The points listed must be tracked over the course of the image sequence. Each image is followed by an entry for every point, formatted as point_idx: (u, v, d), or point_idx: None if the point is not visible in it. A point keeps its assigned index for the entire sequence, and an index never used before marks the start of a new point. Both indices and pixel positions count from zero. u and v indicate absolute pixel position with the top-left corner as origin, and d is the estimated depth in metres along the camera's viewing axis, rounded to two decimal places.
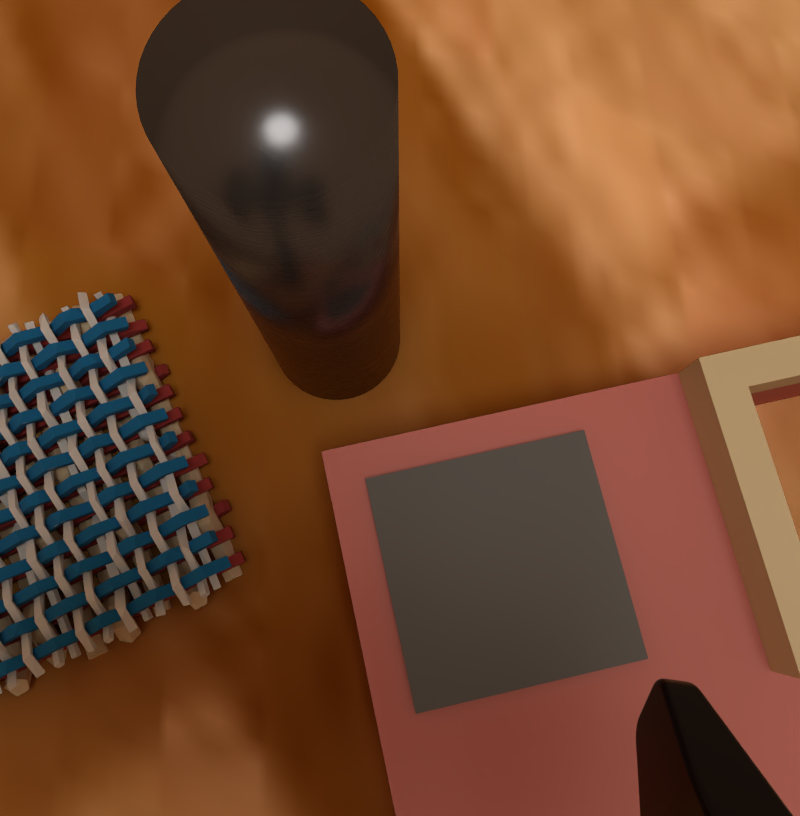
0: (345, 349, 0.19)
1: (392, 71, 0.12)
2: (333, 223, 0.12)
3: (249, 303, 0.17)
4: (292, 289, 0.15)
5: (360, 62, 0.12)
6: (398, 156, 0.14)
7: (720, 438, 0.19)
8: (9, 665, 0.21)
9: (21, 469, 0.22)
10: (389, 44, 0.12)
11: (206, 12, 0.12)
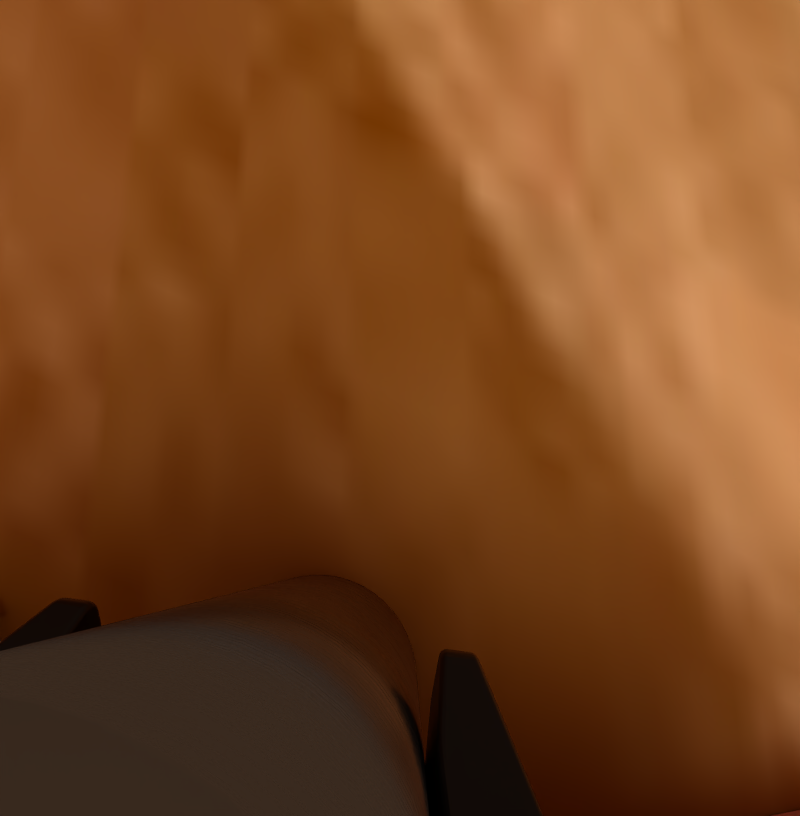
0: None
1: None
2: None
3: None
4: None
5: None
6: None
7: None
8: None
9: None
10: None
11: None
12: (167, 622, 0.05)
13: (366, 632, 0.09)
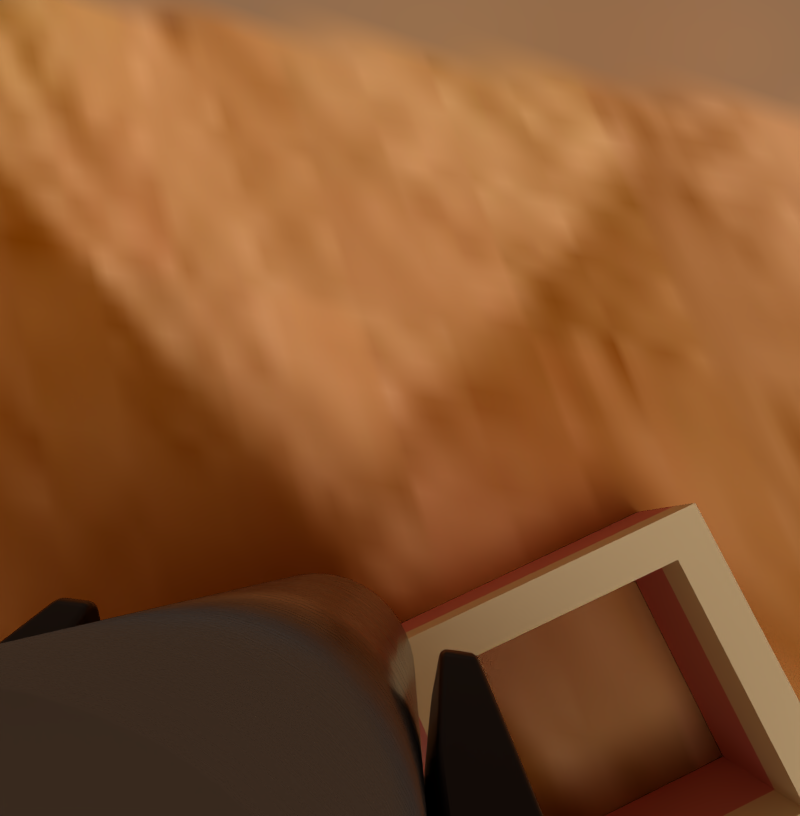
0: None
1: None
2: None
3: None
4: None
5: None
6: None
7: (427, 733, 0.17)
8: None
9: None
10: None
11: None
12: (163, 617, 0.05)
13: (364, 629, 0.09)
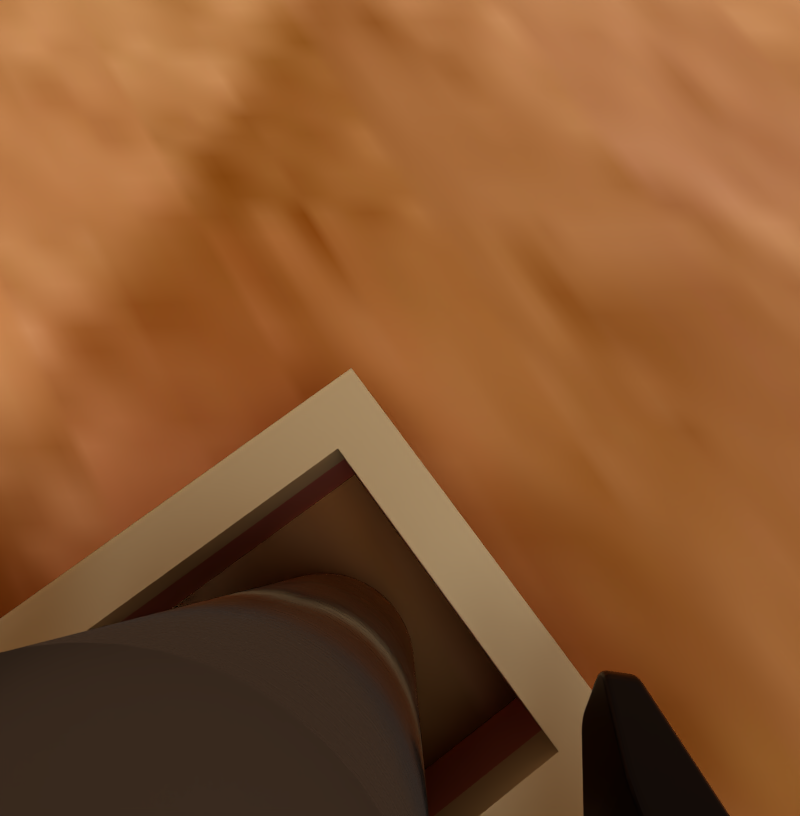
0: None
1: None
2: None
3: None
4: None
5: None
6: None
7: None
8: None
9: None
10: None
11: None
12: (217, 608, 0.07)
13: (370, 621, 0.11)
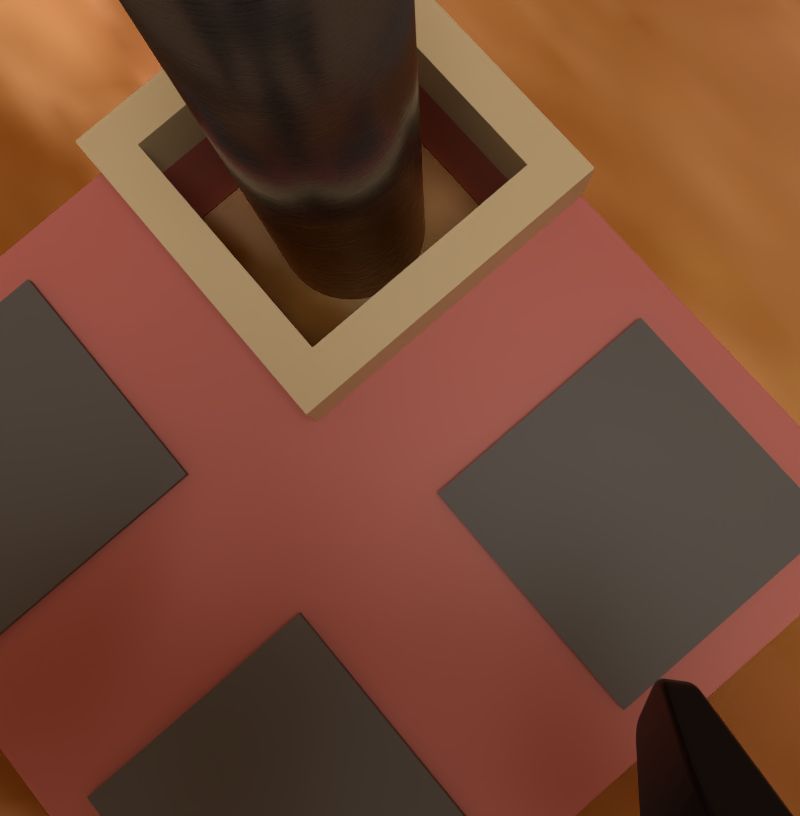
0: (358, 228, 0.16)
1: None
2: (324, 20, 0.09)
3: (234, 169, 0.13)
4: (281, 137, 0.11)
5: None
6: None
7: (137, 213, 0.17)
8: None
9: None
10: None
11: None
12: None
13: None
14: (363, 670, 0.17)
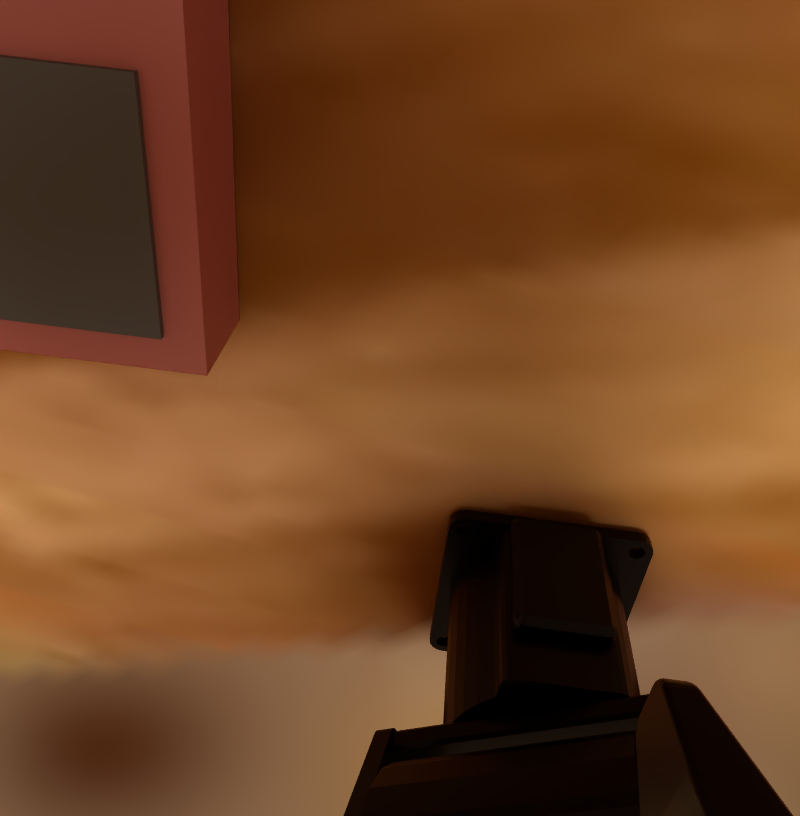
0: None
1: None
2: None
3: None
4: None
5: None
6: None
7: None
8: None
9: None
10: None
11: None
12: None
13: None
14: None
